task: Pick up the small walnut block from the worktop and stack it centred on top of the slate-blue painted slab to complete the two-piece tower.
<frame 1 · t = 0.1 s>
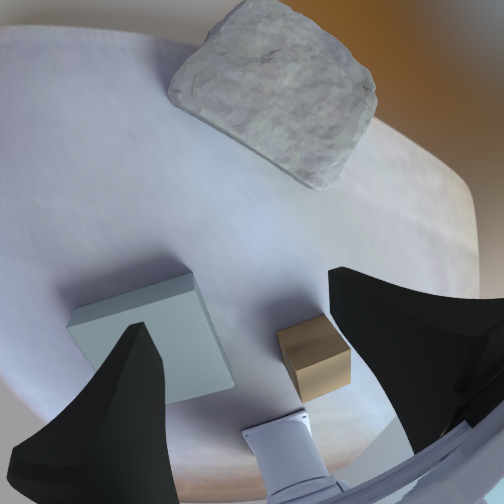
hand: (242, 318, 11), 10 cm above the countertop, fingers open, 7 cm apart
stone block: (277, 87, 17), on the countertop
walnut block: (303, 340, 26), on the countertop
base slab: (155, 338, 22), on the countertop
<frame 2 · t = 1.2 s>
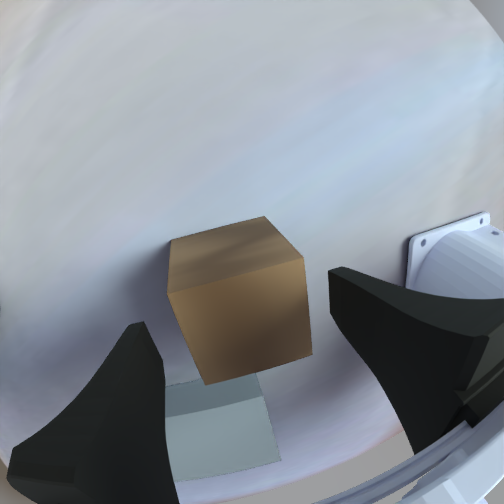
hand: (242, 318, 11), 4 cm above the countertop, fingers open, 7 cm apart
walnut block: (227, 269, 15), on the countertop
base slab: (199, 419, 19), on the countertop
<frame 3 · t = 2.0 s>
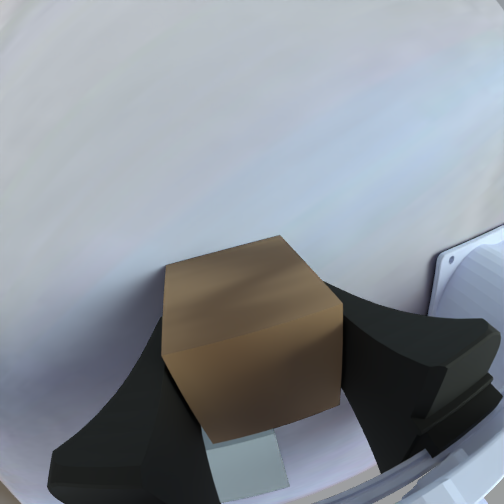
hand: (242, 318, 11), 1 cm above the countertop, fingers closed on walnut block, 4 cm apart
walnut block: (235, 299, 12), on the countertop, touching gripper
base slab: (202, 448, 17), on the countertop
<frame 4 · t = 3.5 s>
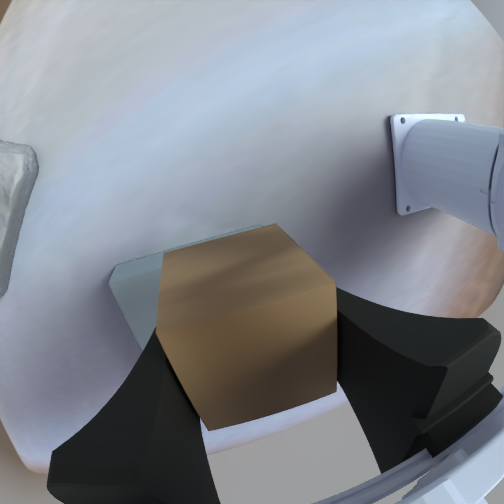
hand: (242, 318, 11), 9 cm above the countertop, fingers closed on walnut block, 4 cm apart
walnut block: (232, 287, 12), point 7 cm above the countertop, touching gripper
base slab: (205, 303, 21), on the countertop
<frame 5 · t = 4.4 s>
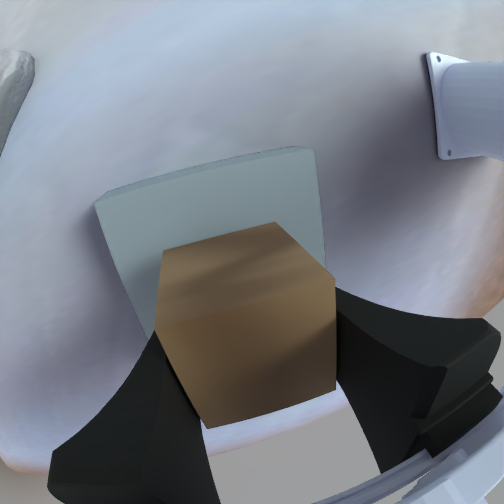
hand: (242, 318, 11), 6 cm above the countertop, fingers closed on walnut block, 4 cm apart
walnut block: (231, 285, 12), point 4 cm above the countertop, touching gripper
base slab: (219, 251, 17), on the countertop
when the fingers open (5 cm above the countertop, at t = 5.0 s): walnut block drops 1 cm, resting on base slab.
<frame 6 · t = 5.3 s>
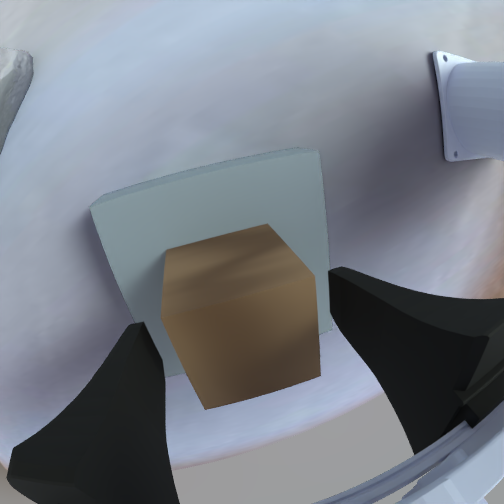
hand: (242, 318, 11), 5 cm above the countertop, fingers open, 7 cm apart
walnut block: (228, 281, 13), point 2 cm above the countertop, touching base slab
base slab: (220, 255, 16), on the countertop, touching walnut block
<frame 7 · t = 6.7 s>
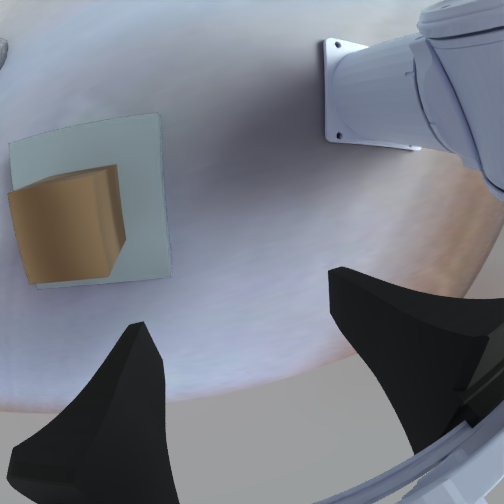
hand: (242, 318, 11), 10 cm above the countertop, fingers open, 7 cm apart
walnut block: (86, 207, 15), point 2 cm above the countertop, touching base slab
base slab: (95, 198, 18), on the countertop, touching walnut block
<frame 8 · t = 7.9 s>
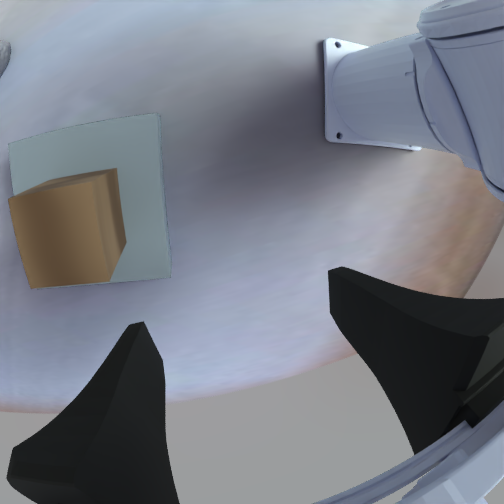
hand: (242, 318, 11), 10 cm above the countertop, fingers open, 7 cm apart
walnut block: (86, 210, 15), point 2 cm above the countertop
base slab: (95, 198, 18), on the countertop
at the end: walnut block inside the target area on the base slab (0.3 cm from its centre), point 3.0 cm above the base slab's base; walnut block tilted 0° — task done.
